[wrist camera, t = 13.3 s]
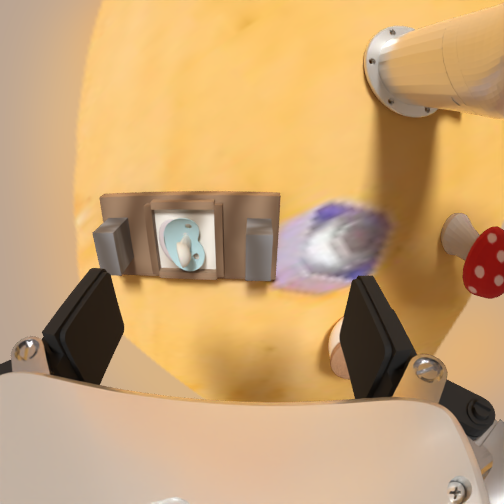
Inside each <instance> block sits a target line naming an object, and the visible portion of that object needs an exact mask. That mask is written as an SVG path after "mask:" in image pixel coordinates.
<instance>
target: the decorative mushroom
mask: <svg viewBox="0 0 504 504" xmlns="http://www.w3.org/2000/svg"><path fill="white" fill-rule="evenodd" d="M441 242H442V245H443V247H444V250H445V251H446V253H448V254H450V255H456V256H458V257H460V258H462V259H463V260H465V264H464V268H463V282H464V285H465V287H466V288H467V290H468V291H469V292H470V293H472V294H474V295H477V296H480V297H484V298H495V297H498V296H500V295H502V294H503V293H504V230H503V229H501V228H499V227H491V228H489V229H487V230H485V231H484V232H483V233H482V234H481V235H479V234H478V232H477V231H476V230H475V229H474V227H473V226H472V225H471V222H470V220H469V218H468V217H467V215H465V214H462V213H454V214H453V215H451V216H450V217H449V218H448V219H447V220H446V222H445V224H444V226H443V228H442V232H441Z"/></svg>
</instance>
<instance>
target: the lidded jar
mask: <svg viewBox="0 0 504 504" xmlns="http://www.w3.org/2000/svg"><path fill="white" fill-rule="evenodd" d="M343 318H344V316H343V317H342V318H341V319H340V320H339V321H338V322H337V324H336V325H335V326H334V328H333V329H332V332H331V334H330V338H329V356H330V364H331V368H332V370H333V372H334V373H335V374H336V375H337V376H339V377H341V378H344V379H350V377H349V373H348V369H347V365H346V362H345V358H344V355H343V351H342V348H341V344H340V340H339V334H340V329H341V326H342V322H343Z"/></svg>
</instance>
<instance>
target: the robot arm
mask: <svg viewBox="0 0 504 504" xmlns="http://www.w3.org/2000/svg"><path fill="white" fill-rule="evenodd" d="M390 32H391V34H390ZM369 60H370V61H371V64H370V63H369ZM364 70H365V75H366V78H367V81H368V83H369V85H370V88H371V90H372V91H373V93H374V94H375V95H376V97H377V98H378V99H379V100H380V101H381V102H382V103H383V105H385V106H386V107H387V108H389V109H390V110H392V111H394V112H395V113H397V114H400V115H403V116H407V117H425V116H428V115H430V114H432V113H434V112H435V111H437V110H438V109H445V110H452V111H458V112H464V113H470V114H475V115H481V116H485V117H490V118H495V119H504V3H501V4H499V5H496V6H493V7H490V8H486V9H483V10H479V11H476V12H473V13H469V14H465V15H462V16H458V17H455V18H451V19H447V20H444V21H441V22H438V23H435V24H432V25H428V26H426V27H423V28H420V29H417V30H415V29H413V28H410V27H406V26H392V27H388V28H385V29H383V30H381V31H380V32H378V33H377V34H375V35H374V36H373V37H372V39H371V40H370V41H369V43H368V45H367V47H366V51H365V54H364ZM388 99H389V100H390V103H388ZM123 332H124V323H123V320H122V316H121V313H120V309H119V306H118V302H117V298H116V295H115V291H114V287H113V283H112V279H111V275H110V273H108V272H107V271H106V269H101V268H91V269H90V270H89V271H88V273H87V274H86V275H85V276H84V278H83V279H82V280H81V281H80V283H79V284H78V285H77V286H76V288H75V289H74V290H73V291H72V293H71V294H70V295H69V297H68V298H67V299H66V301H65V302H64V303H63V304H62V306H61V307H60V308H59V310H58V311H57V312H56V314H55V315H54V316H53V318H52V319H51V320H50V322H49V323H48V325H47V326H46V327H45V329H44V330H43V332H42V333H43V336H44V337H43V338H42V340H41V339H39V338H38V337H33V336H30V337H25V338H23V339H21V340H20V341H19V342H17V343H16V344H15V346H14V347H13V349H12V352H11V360H9V361H7V362H5V363H2V364H0V504H504V422H503V421H502V420H499V421H498V422H497V421H496V420H495V411H494V408H493V406H492V405H491V404H490V402H489V401H487V400H486V399H484V398H483V397H481V396H479V395H477V394H474V393H472V392H471V391H469V390H467V389H465V388H463V387H461V386H459V385H457V384H455V383H452V382H451V381H449V380H447V369H446V367H445V365H444V364H443V362H442V361H441V360H439V359H438V358H436V357H434V356H432V355H429V354H420V355H417V354H416V352H415V350H414V348H413V346H412V344H411V342H410V340H409V338H408V336H407V334H406V332H405V330H404V328H403V326H402V324H401V322H400V321H399V319H398V317H397V315H396V313H395V311H394V310H393V309H391V307H390V305H389V303H388V302H387V300H386V298H385V296H384V294H383V293H382V291H381V289H380V287H379V285H378V284H377V282H376V280H375V278H374V277H373V276H358V277H357V279H354V280H353V281H352V283H351V288H350V292H349V297H348V301H347V305H346V310H345V314H344V318H343V322H342V326H341V329H340V334H339V340H340V344H341V348H342V351H343V355H344V358H345V362H346V365H347V369H348V373H349V377H350V380H351V384H352V388H353V392H354V396H355V399H349V400H333V401H310V402H239V401H219V400H204V399H192V398H181V397H172V396H164V395H156V394H149V393H142V392H135V391H129V390H123V389H117V388H112V387H106V386H101V385H100V383H101V381H102V378H103V376H104V374H105V371H106V369H107V367H108V365H109V363H110V360H111V358H112V356H113V354H114V352H115V349H116V347H117V345H118V343H119V341H120V339H121V337H122V335H123Z"/></svg>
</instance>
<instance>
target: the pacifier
mask: <svg viewBox="0 0 504 504" xmlns="http://www.w3.org/2000/svg"><path fill="white" fill-rule="evenodd" d="M185 224H190V225H191V226H192V227H191V228H189V227H186V226H185ZM198 237H199V228H198V225H197V224H196V223H195V222H194V221H193V220H191V219H187V218H178V219H174V220H173V219H168V220H166V221H164V222H163V223H162V224H161V226H160V229H159V242H160V246H161V248H162V250H163V252H164V253H165V255H166V256H167V257H168V258H169V259H170V260H171V261H173V262H174V263H175V264H176V265H177V266H178V267H179V268H181V269H183V270H186V271H195V270H197V269H199V268H200V267H201V266H202V264H203V262H204V259H205V252H204V249H203V246H202V245H201V243H200V242H199V241H198ZM195 253H197V254H198V255H199V259H195V258H194V256H193V255H194V254H195Z"/></svg>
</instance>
